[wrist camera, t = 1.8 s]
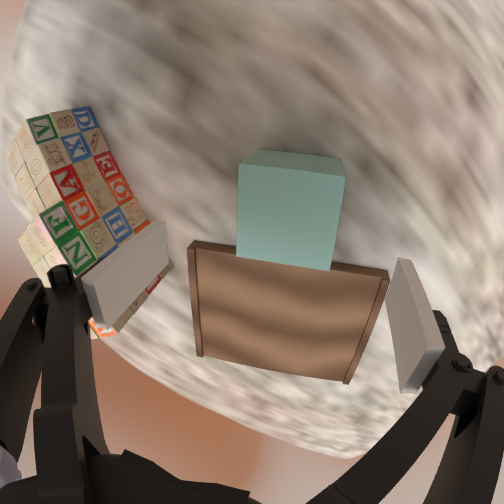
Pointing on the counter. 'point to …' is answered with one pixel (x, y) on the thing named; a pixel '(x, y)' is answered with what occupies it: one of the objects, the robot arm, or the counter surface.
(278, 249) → the cube
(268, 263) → the board
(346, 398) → the counter surface
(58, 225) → the stack of blocks
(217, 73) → the counter surface
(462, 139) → the counter surface
